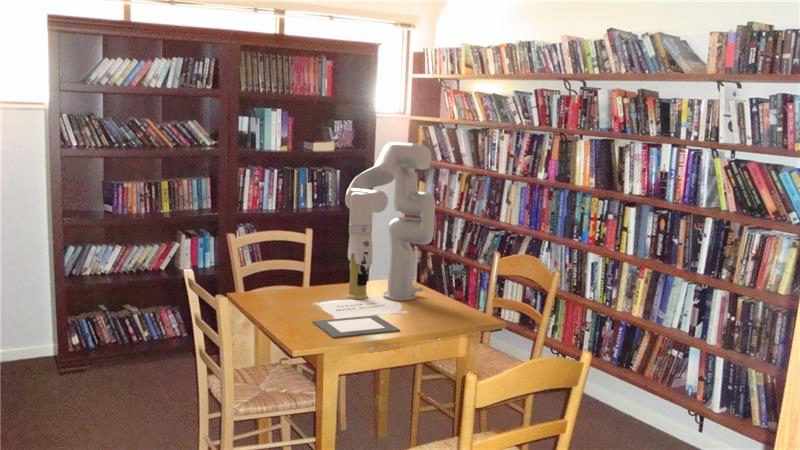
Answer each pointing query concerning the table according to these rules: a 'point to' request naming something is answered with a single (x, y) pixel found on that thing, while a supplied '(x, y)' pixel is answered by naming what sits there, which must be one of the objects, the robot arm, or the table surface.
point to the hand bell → (357, 297)
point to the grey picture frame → (355, 326)
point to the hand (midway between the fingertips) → (357, 282)
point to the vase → (355, 279)
